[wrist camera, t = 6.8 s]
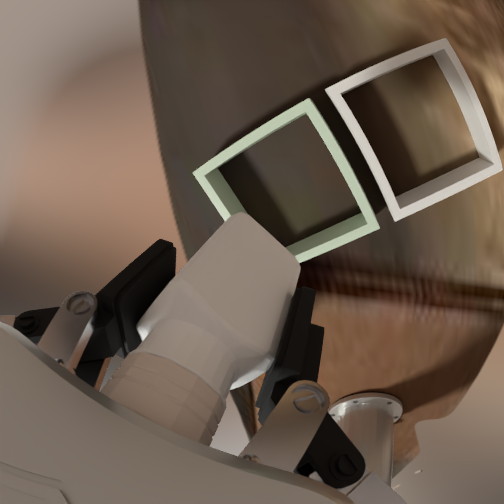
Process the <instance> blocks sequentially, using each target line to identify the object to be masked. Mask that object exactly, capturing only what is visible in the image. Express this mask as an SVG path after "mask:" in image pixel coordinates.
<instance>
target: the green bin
mask: <svg viewBox="0 0 504 504" xmlns="http://www.w3.org/2000/svg"><path fill="white" fill-rule="evenodd" d="M305 114H307V115H308V116H309V118H310V119H311V121H312V123H313V124H314V126H315V127H316V129H317V131H318V132H319V134H320V136H321V137H322V139H323V141H324V142H325V144H326V146H327V147H328V149H329V151H330V153H331V154H332V156H333V158H334V160H335V161H336V163H337V165H338V167H339V169H340V170H341V172H342V174H343V176H344V178H345V180H346V182H347V183H348V185H349V187H350V189H351V191H352V193H353V195H354V197H355V199H356V201H357V203H358V205H359V207H360V209H361V211H362V213H360V214H358V215H355V216H353V217H351V218H349V219H347V220H345V221H342V222H340V223H338V224H336V225H334V226H331V227H329V228H327V229H325V230H323V231H320V232H318V233H316V234H314V235H312V236H309V237H307V238H305V239H303V240H301V241H298V242H296V243H294V244H292V245H290V246H287V247H285V248H286V249H287V250H288V251H289V252H290V253H291V254H292V255H293V256H295V257H296V259H297V261H298V263H301V262H303V261H306V260H308V259H311V258H313V257H315V256H318V255H320V254H322V253H325V252H327V251H329V250H332V249H334V248H336V247H339V246H341V245H343V244H346V243H348V242H350V241H353V240H355V239H357V238H359V237H362V236H364V235H366V234H369V233H371V232H373V231H375V230H378V229H380V227H379V224H378V221H377V218H376V215H375V213H374V211H373V209H372V207H371V205H370V202H369V200H368V198H367V196H366V194H365V192H364V190H363V188H362V186H361V184H360V182H359V180H358V178H357V176H356V174H355V172H354V170H353V169H352V167H351V165H350V163H349V161H348V159H347V157H346V156H345V154H344V152H343V150H342V148H341V147H340V145H339V143H338V141H337V140H336V138H335V136H334V135H333V133H332V131H331V130H330V128H329V126H328V125H327V123H326V121H325V120H324V118H323V116H322V115H321V113H320V112H319V110H318V109H317V107H316V105H315V104H314V102H313V101H312V100H311V99H310V98H308V99H306V100H304V101H303V102H301V103H299V104H297V105H295V106H294V107H292V108H290V109H289V110H287V111H285V112H283V113H282V114H280V115H278V116H277V117H275V118H273V119H272V120H270V121H268V122H267V123H265V124H264V125H262V126H260V127H259V128H257V129H256V130H254V131H253V132H251V133H249V134H248V135H246V136H245V137H243V138H242V139H240V140H239V141H237V142H236V143H234V144H233V145H231V146H230V147H228V148H227V149H225V150H224V151H222V152H221V153H220V154H218V155H217V156H215V157H214V158H212V159H211V160H210V161H208V162H207V163H205V164H204V165H203V166H201V167H200V168H198V169H197V170H196V171H194V172H193V174H194V176H195V177H196V179H197V180H198V182H199V183H200V185H201V186H202V188H203V189H204V191H205V192H206V194H207V195H208V197H209V198H210V200H211V201H212V203H213V204H214V206H215V207H216V209H217V210H218V212H219V213H220V215H221V216H222V218H223V219H224V221H226V220H227V219H228V218H229V217H230V216H232V215H234V214H236V213H239V212H243V213H246V214H247V212H246V211H245V209H244V208H243V206H242V205H241V203H240V202H239V200H238V198H237V197H236V195H235V194H234V192H233V191H232V189H231V188H230V186H229V185H228V183H227V182H226V180H225V179H224V177H223V176H222V174H221V173H220V171H219V170H218V168H219V167H220V166H222V165H223V164H225V163H226V162H228V161H229V160H231V159H232V158H234V157H235V156H237V155H238V154H240V153H241V152H243V151H245V150H246V149H248V148H249V147H251V146H252V145H254V144H256V143H257V142H259V141H260V140H262V139H264V138H265V137H267V136H269V135H270V134H272V133H274V132H275V131H277V130H279V129H280V128H282V127H284V126H285V125H287V124H289V123H291V122H292V121H294V120H296V119H298V118H299V117H301V116H303V115H305Z"/></svg>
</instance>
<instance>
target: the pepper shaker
mask: <svg viewBox="0 0 504 504" xmlns="http://www.w3.org/2000/svg"><path fill="white" fill-rule="evenodd" d="M300 269H301V267H300V265H299V263H298V261H297V259H296V257H295V256H293V255H292V254H291V253H290V252H289V251H288V250H287V249H286V248H285V247H284V246H283V245H282V244H281V243H279V242H278V241H277V240H276V239H275V238H274V237H273V236H272V235H271V234H270V233H269V232H267V231H266V230H265V229H264V228H263V227H262V226H261V225H260V224H259V223H257V222H256V221H255V220H254V219H253V218H252V217H251V216H250V215H248V214H246V213H243V212H239V213H236V214H234V215H232V216H230V217H229V218H228V219H227V220H226V221H225V222H224V223H223V225H222V226H221V227H220V228H219V229H218V230H217V231H216V232H215V233H214V234H213V235H212V236H211V237H210V238H209V239H208V241H207V242H206V243H205V244H204V245H203V246H202V247H201V248H200V249H199V250H198V251H197V252H196V254H195V255H194V256H193V257H192V258H191V259H190V260H189V261H188V262H187V263H186V265H185V266H184V267H183V268H182V269H181V270H180V271H179V272H178V273H177V275H176V276H175V277H174V278H173V279H172V280H171V281H170V282H169V284H168V285H167V286H166V287H165V288H164V290H163V291H162V292H161V293H160V295H159V296H158V297H157V298H156V300H155V301H154V302H153V303H152V305H151V306H150V307H149V308H148V310H147V311H146V312H145V314H144V315H143V316H142V318H141V319H140V320H139V322H138V323H137V325H136V328H137V331H138V333H139V335H140V338H141V340H142V343H141V344H140V345H139V347H138V348H137V349H135V350H133V351H132V352H130V353H129V354H128V356H127V357H126V358H125V359H124V361H123V362H122V363H121V365H120V368H119V369H117V370H116V371H115V372H114V374H113V375H112V379H110V380H108V382H107V383H106V384H105V386H104V387H103V388H102V390H101V391H100V392H101V393H102V394H104V395H106V396H107V397H109V398H111V399H112V400H114V401H116V402H117V403H119V404H121V405H122V406H124V407H126V408H128V409H130V410H131V411H133V412H135V413H137V414H139V415H141V416H142V417H144V418H146V419H148V420H150V421H152V422H154V423H156V424H158V425H160V426H162V427H165V428H167V429H169V430H171V431H173V432H175V433H178V434H180V435H182V436H184V437H187V438H189V439H191V440H194V441H196V442H199V443H201V444H204V445H207V446H210V444H211V441H212V436H214V434H215V432H216V430H217V427H218V425H217V424H219V422H220V421H221V418H222V416H223V414H224V411H225V409H226V401H225V400H226V398H227V395H228V393H229V391H230V390H231V389H234V388H237V387H240V386H242V385H244V384H246V383H248V382H250V381H252V380H254V379H255V378H257V377H258V376H260V375H261V374H263V373H264V372H266V371H267V370H269V368H270V367H271V365H272V363H273V361H274V359H275V357H276V353H277V350H278V347H279V343H280V340H281V336H282V333H283V329H284V326H285V322H286V319H287V315H288V312H289V308H290V304H291V301H292V297H293V295H294V292H295V289H296V285H297V281H298V277H299V273H300Z"/></svg>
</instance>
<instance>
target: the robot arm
mask: <svg viewBox="0 0 504 504" xmlns="http://www.w3.org/2000/svg"><path fill="white" fill-rule="evenodd" d="M175 268H176V248H175V247H173V243H172V242H169V241H165V240H163V239H159V240H157V241H156V242H155V243H154V244H153V245H152V246H150V247H149V248H148V249H147V250H146V251H145V252H143V253H142V254H141V255H140V256H139V257H138V258H136V259H135V260H134V261H133V262H132V263H130V264H129V265H128V266H127V267H126V268H125V269H124V270H123V271H121V272H120V273H119V274H118V275H117V276H116V277H115V278H114V279H113V280H111V281H110V282H109V283H108V284H107V285H106V286H105V287H104V288H103V289H102V290H101V291H99V292H98V293H97V294H96V295H93V294H92V293H90V292H87V291H79V292H75V293H72V294H71V295H69V296H68V297H67V298H66V299H65V300H64V302H63V304H62V305H61V307H54V308H46V309H39V310H31V311H27V312H24V313H22V314H20V315H19V316H18V317H16V315H8V316H6V315H4V316H0V504H406V502H405V500H404V499H403V498H402V497H401V496H400V495H398V494H397V493H396V492H395V491H394V490H393V489H392V488H391V480H392V466H393V440H394V422H396V421H397V420H398V419H399V418H400V416H401V415H402V412H403V408H402V403H401V401H400V400H399V399H397V398H396V397H394V396H392V395H389V394H384V393H360V394H355V395H351V396H348V397H345V398H343V399H340V400H338V401H337V402H335V403H334V404H333V405H332V406H331V407H330V409H329V405H330V398H329V395H328V393H327V391H326V390H325V389H324V388H323V387H322V386H321V385H319V384H318V383H317V379H318V373H319V366H320V359H321V352H322V345H323V337H324V327H321V326H318V325H314V324H311V317H312V311H313V305H314V299H315V293H316V290H315V289H312V288H308V287H305V286H302V288H301V289H299V288H296V289H295V292H294V295H293V297H292V301H291V304H290V308H289V312H288V315H287V319H286V322H285V326H284V329H283V333H282V336H281V340H280V343H279V347H278V350H277V353H276V357H275V359H274V361H273V363H272V365H271V367H270V368H269V370H267V371H266V374H265V377H264V380H263V384H262V387H261V390H260V392H259V395H258V398H257V401H256V404H255V407H258V408H260V409H259V412H258V415H259V418H258V420H259V422H260V423H261V425H262V426H261V428H260V429H259V430H258V432H257V433H256V434H255V436H254V437H253V438H252V439H251V441H250V442H249V443H248V445H247V446H246V447H245V448H244V450H243V451H242V452H241V453H240V455H239V456H238V457H237V456H235V455H232V454H229V453H226V452H223V451H220V450H217V449H214V448H212V447H209V446H207V445H204V444H201V443H199V442H196V441H194V440H191V439H189V438H187V437H184V436H182V435H180V434H178V433H175V432H173V431H171V430H169V429H167V428H165V427H162V426H160V425H158V424H156V423H154V422H152V421H150V420H148V419H146V418H144V417H142V416H141V415H139V414H137V413H135V412H133V411H131V410H130V409H128V408H126V407H124V406H122V405H121V404H119V403H117V402H116V401H114V400H112V399H111V398H109V397H107V396H106V395H104V394H102V393H101V392H99V390H100V387H101V384H102V381H103V379H104V376H105V373H106V370H107V368H108V365H109V362H110V360H111V357H113V356H114V355H115V354H116V355H118V356H120V357H122V358H124V359H125V358H126V357H127V355H128V354H129V353H130V352H132V351H133V350H135V349H137V348H138V346H139V345H140V344H141V342H142V340H141V338H140V335H139V333H138V331H137V328H136V325H137V323H138V322H139V320H140V319H141V318H142V316H143V315H144V314H145V312H146V311H147V310H148V308H149V307H150V306H151V305H152V303H153V302H154V301H155V300H156V298H157V297H158V296H159V295H160V293H161V292H162V291H163V290H164V288H165V287H166V286H167V285H168V284H169V282H170V281H171V280H172V279H173V278H174V277H175ZM328 409H329V412H328ZM292 472H294V473H292Z"/></svg>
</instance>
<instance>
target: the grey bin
mask: <svg viewBox="0 0 504 504" xmlns="http://www.w3.org/2000/svg"><path fill="white" fill-rule="evenodd" d="M431 55H433V56H434V58H435V60H436V62H437V63H438V65H439V67H440V68H441V70H442V72H443V74H444V76H445V78H446V80H447V81H448V83H449V85H450V87H451V89H452V91H453V93H454V95H455V98H456V100H457V102H458V104H459V106H460V108H461V111H462V113H463V115H464V118H465V120H466V123H467V125H468V128H469V130H470V133H471V135H472V138H473V141H474V144H475V146H476V149H477V152H478V155H479V158H477V159H475V160H473V161H471V162H469V163H467V164H464V165H462V166H460V167H458V168H456V169H454V170H452V171H450V172H448V173H446V174H443V175H441V176H439V177H437V178H435V179H433V180H431V181H429V182H426V183H424V184H422V185H420V186H418V187H416V188H414V189H411V190H409V191H407V192H405V193H403V194H401V195H399V196H396V197H395V196H394V194H393V192H392V189H391V187H390V185H389V183H388V181H387V178H386V176H385V174H384V172H383V170H382V168H381V166H380V164H379V162H378V160H377V158H376V156H375V154H374V152H373V150H372V148H371V146H370V144H369V142H368V140H367V138H366V137H365V135H364V133H363V131H362V129H361V128H360V126H359V124H358V122H357V121H356V119H355V117H354V115H353V114H352V112H351V110H350V109H349V107H348V105H347V104H346V102H345V101H344V99H343V97H342V96H341V95H342V94H344V93H346V92H348V91H350V90H352V89H354V88H356V87H359V86H361V85H363V84H365V83H367V82H369V81H371V80H373V79H376V78H378V77H380V76H382V75H384V74H387V73H389V72H391V71H394V70H396V69H398V68H401V67H403V66H405V65H408V64H410V63H413V62H415V61H418V60H420V59H423V58H426V57H428V56H431ZM325 91H326V93H327V95H328V96H329V98H330V99H331V101H332V102H333V104H334V106H335V107H336V109H337V110H338V112H339V114H340V115H341V117H342V119H343V120H344V122H345V124H346V125H347V127H348V129H349V131H350V132H351V134H352V136H353V138H354V139H355V141H356V143H357V145H358V147H359V149H360V150H361V152H362V154H363V156H364V158H365V160H366V162H367V164H368V166H369V168H370V170H371V172H372V174H373V176H374V178H375V180H376V182H377V184H378V186H379V188H380V191H381V193H382V195H383V197H384V199H385V202H386V204H387V206H388V209H389V211H390V213H391V215H392V217H393V219H394V221H398V220H400V219H402V218H404V217H406V216H408V215H411V214H413V213H415V212H417V211H419V210H421V209H424V208H426V207H428V206H430V205H432V204H434V203H436V202H439V201H441V200H443V199H445V198H447V197H449V196H451V195H453V194H455V193H457V192H459V191H462V190H464V189H466V188H468V187H470V186H472V185H474V184H476V183H478V182H480V181H482V180H484V179H486V178H488V177H490V176H492V175H494V174H496V173H498V172H500V171H502V170H503V169H502V165H501V161H500V157H499V154H498V151H497V147H496V144H495V141H494V138H493V135H492V132H491V129H490V127H489V124H488V121H487V118H486V116H485V113H484V111H483V108H482V106H481V104H480V101H479V99H478V97H477V94H476V92H475V90H474V88H473V86H472V84H471V82H470V80H469V78H468V76H467V74H466V72H465V70H464V68H463V66H462V64H461V62H460V60H459V59H458V57H457V55H456V53H455V52H454V50H453V48H452V47H451V45H450V43H449V42H448V40H447V38H443V39H440V40H437V41H434V42H431V43H428V44H426V45H423V46H420V47H417V48H415V49H412V50H409V51H407V52H404V53H402V54H399V55H397V56H395V57H392V58H390V59H387V60H385V61H383V62H380V63H378V64H376V65H374V66H371V67H369V68H367V69H365V70H363V71H361V72H359V73H356V74H354V75H352V76H350V77H348V78H346V79H344V80H342V81H340V82H338V83H336V84H334V85H332V86H330V87H328V88H326V89H325Z"/></svg>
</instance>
